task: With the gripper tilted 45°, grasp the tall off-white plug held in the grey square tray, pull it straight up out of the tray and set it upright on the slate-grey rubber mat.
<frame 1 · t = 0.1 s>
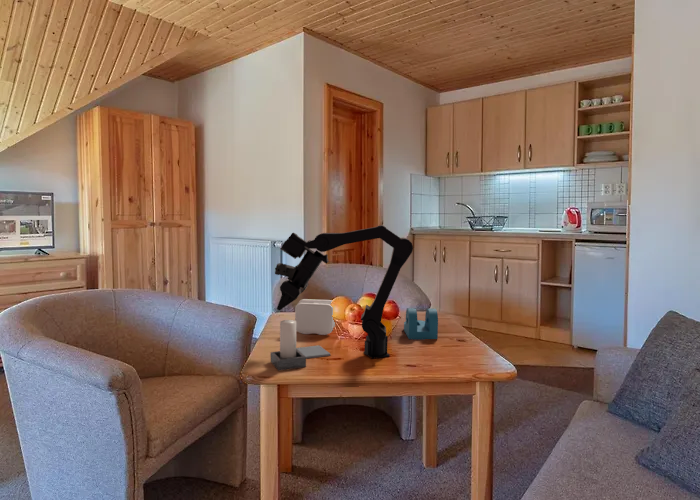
hand: (281, 306, 151), 15 cm above the table, tool tilted 35°, fingers open, 9 cm apart
cable organizer: (315, 331, 178), on the table
slate mat: (310, 352, 151), on the table
grey square tray: (288, 364, 140), on the table
camera mount: (418, 333, 178), on the table
white plug: (288, 343, 139), in the grey square tray
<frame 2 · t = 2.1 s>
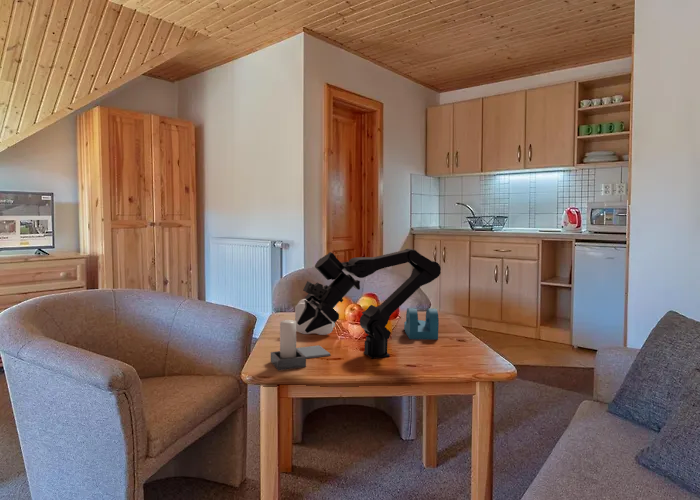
hand: (302, 327, 140), 11 cm above the table, tool tilted 45°, fingers open, 9 cm apart
nothing on the table moved.
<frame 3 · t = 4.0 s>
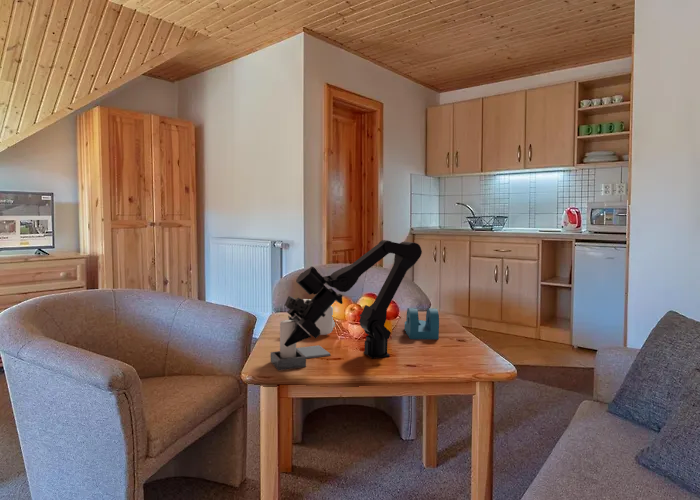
hand: (283, 343, 139), 7 cm above the table, tool tilted 45°, fingers closed on white plug, 5 cm apart
white plug: (288, 343, 139), in the grey square tray, touching gripper
everything else where it was.
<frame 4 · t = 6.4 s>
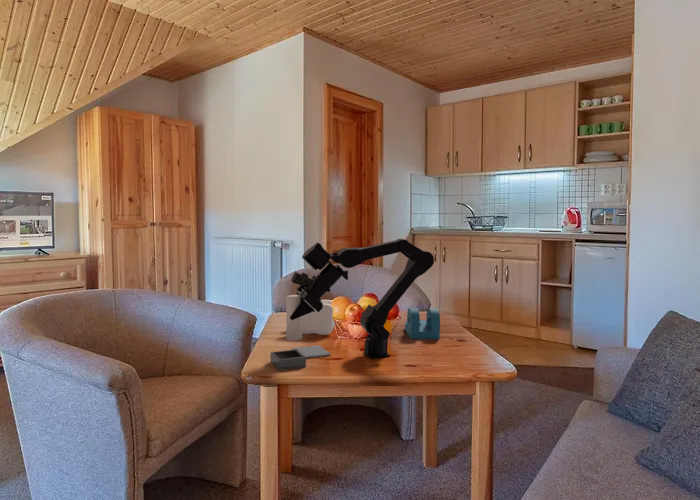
hand: (289, 317, 142), 14 cm above the table, tool tilted 45°, fingers closed on white plug, 5 cm apart
white plug: (294, 317, 142), point 14 cm above the table, touching gripper
everything else where it was.
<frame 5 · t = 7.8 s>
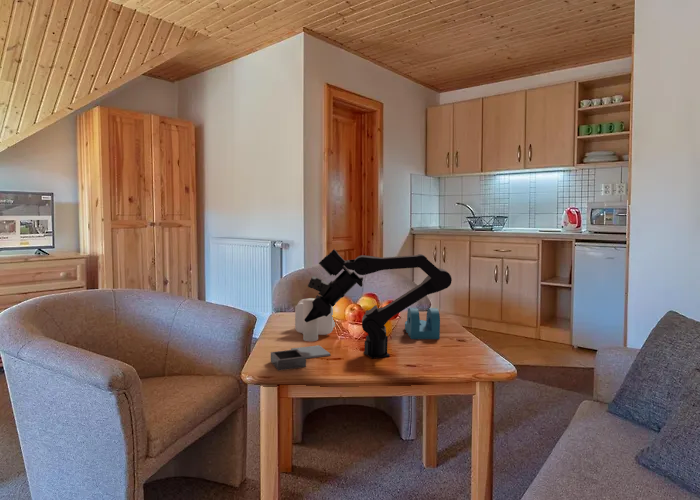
hand: (306, 319, 150), 11 cm above the table, tool tilted 45°, fingers closed on white plug, 5 cm apart
white plug: (310, 319, 150), point 11 cm above the table, touching gripper
everything else where it was.
when the fingers open (8 cm above the table, at t = 8.8 s): white plug drops 1 cm, resting on slate mat.
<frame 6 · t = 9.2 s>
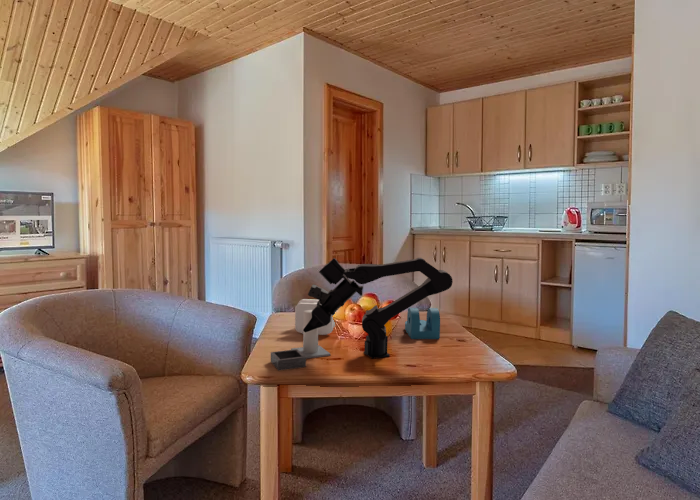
hand: (306, 327, 150), 8 cm above the table, tool tilted 45°, fingers open, 9 cm apart
white plug: (310, 331, 151), on the slate mat, point 7 cm above the table
everything else where it was.
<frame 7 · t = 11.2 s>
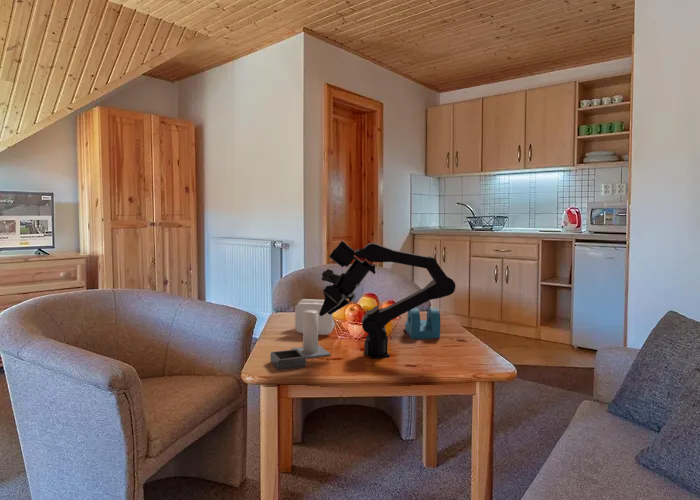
hand: (324, 314, 149), 13 cm above the table, tool tilted 35°, fingers open, 9 cm apart
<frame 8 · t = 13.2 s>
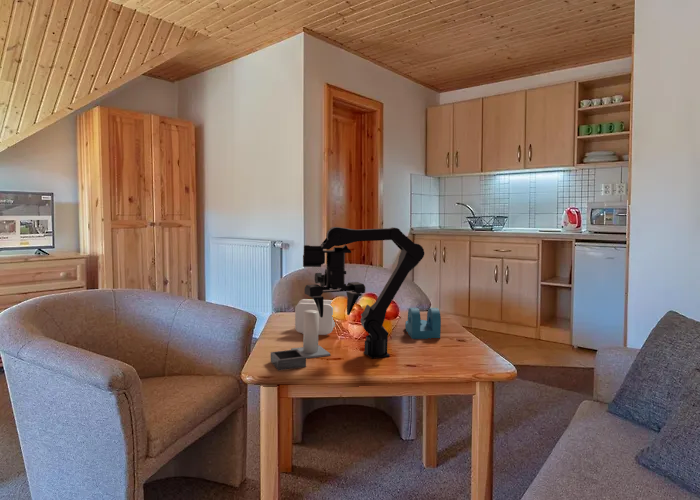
hand: (334, 315, 147), 13 cm above the table, tool pointing down, fingers open, 9 cm apart
at the end: white plug 0.0 cm off-centre on the slate mat, point 7.1 cm above the slate mat's base; white plug tilted 1°; white plug touching slate mat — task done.
